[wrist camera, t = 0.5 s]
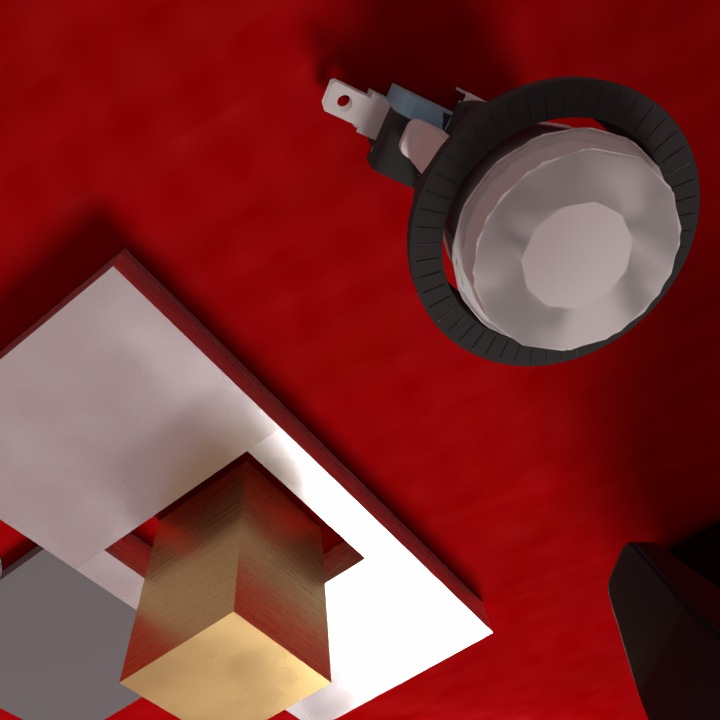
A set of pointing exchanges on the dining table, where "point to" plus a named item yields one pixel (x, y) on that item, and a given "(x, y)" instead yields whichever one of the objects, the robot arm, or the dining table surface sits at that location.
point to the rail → (202, 474)
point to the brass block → (232, 605)
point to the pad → (61, 642)
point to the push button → (535, 210)
